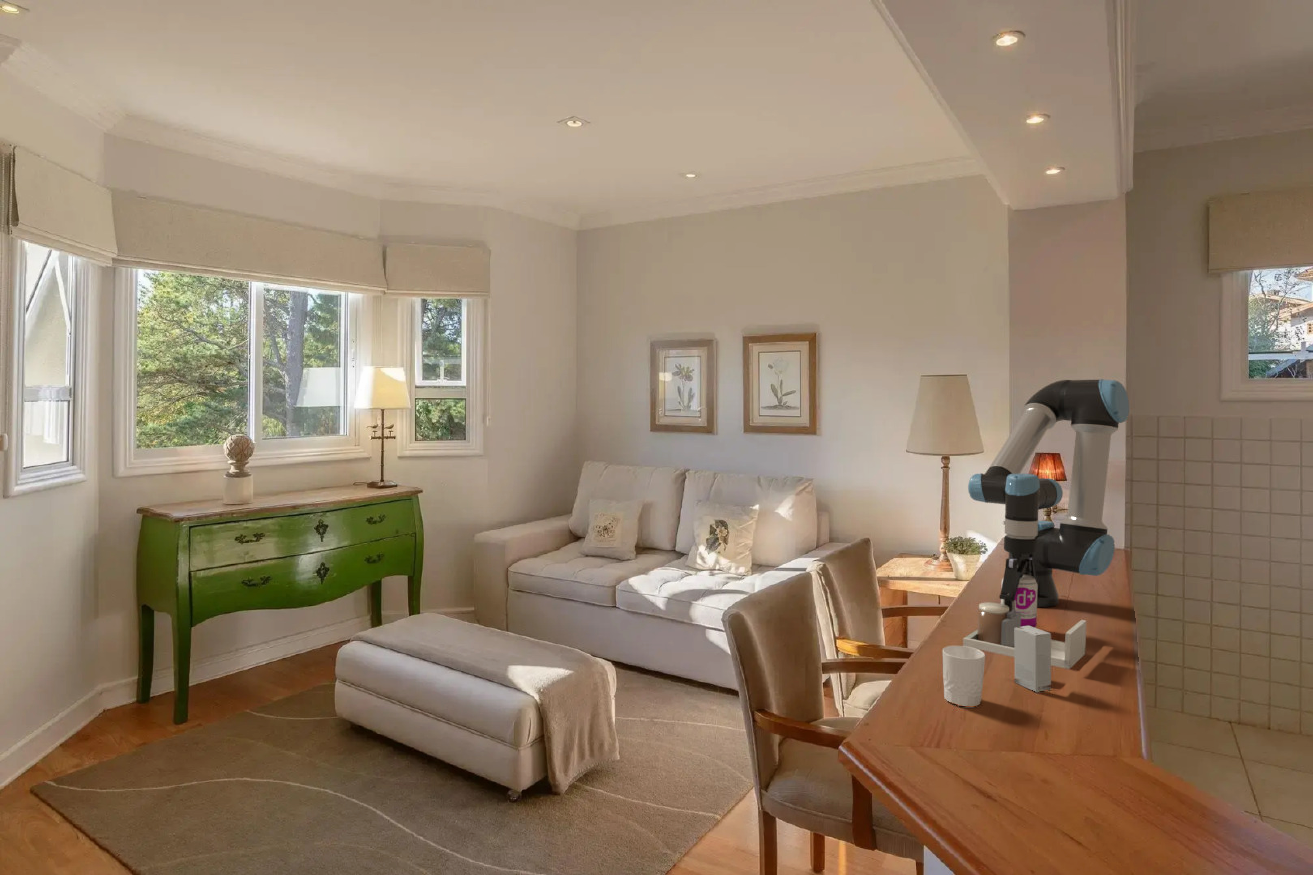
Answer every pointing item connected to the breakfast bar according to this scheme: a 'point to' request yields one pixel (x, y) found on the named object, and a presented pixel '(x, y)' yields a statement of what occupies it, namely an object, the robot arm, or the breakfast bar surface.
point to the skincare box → (1032, 658)
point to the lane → (1060, 651)
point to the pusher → (1010, 628)
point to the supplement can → (1026, 600)
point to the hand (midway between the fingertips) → (1018, 619)
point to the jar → (991, 621)
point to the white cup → (963, 674)
